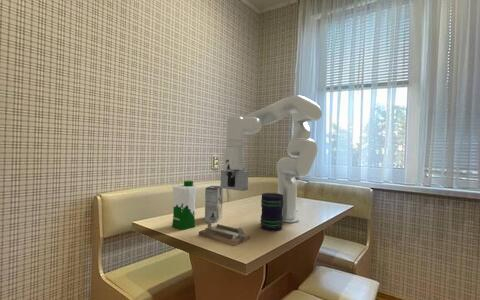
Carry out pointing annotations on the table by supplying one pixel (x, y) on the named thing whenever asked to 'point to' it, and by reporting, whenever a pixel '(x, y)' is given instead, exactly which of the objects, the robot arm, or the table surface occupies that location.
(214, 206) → the coffee box
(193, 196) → the milk carton
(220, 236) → the dock
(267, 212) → the storage jar
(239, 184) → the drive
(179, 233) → the table surface
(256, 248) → the table surface
